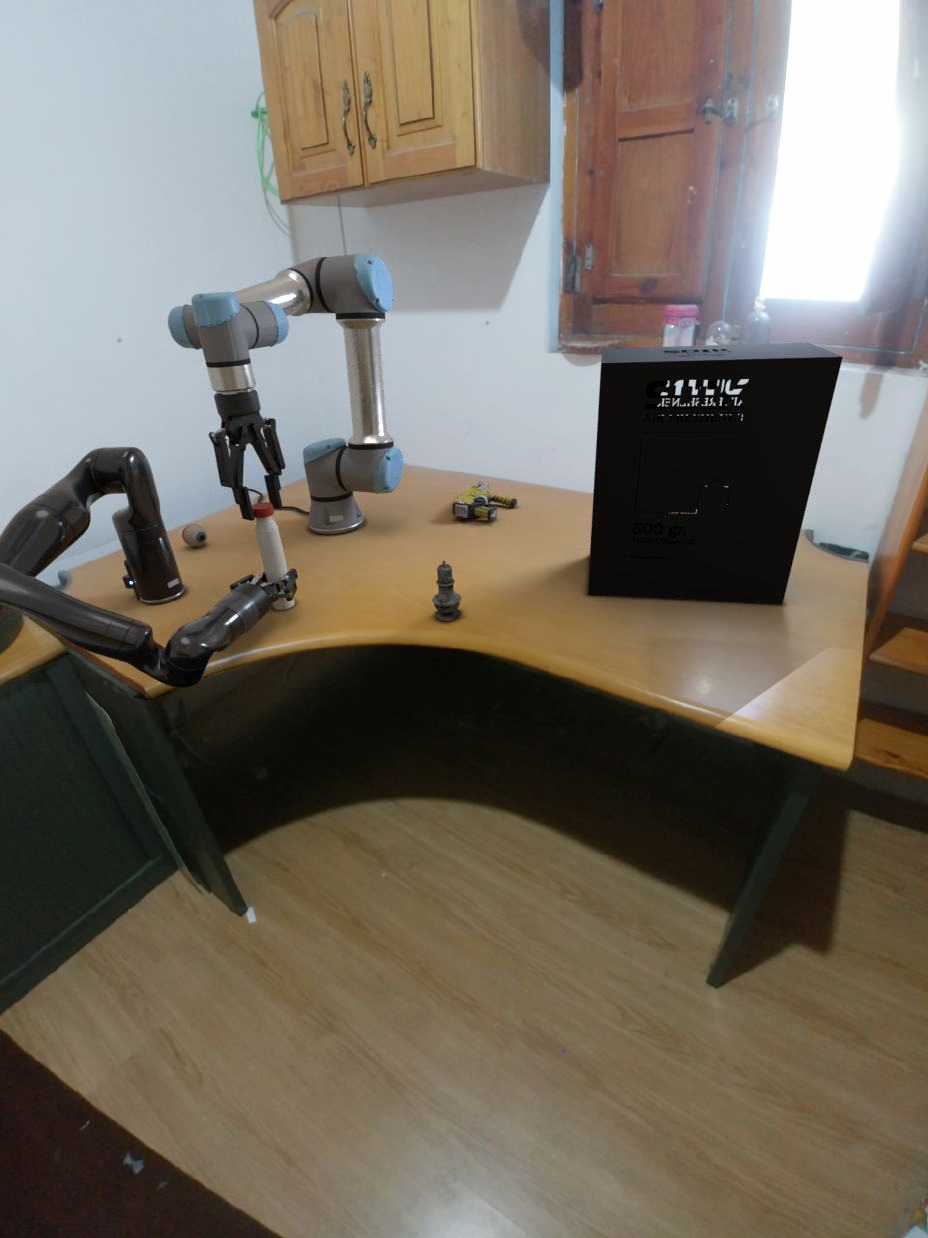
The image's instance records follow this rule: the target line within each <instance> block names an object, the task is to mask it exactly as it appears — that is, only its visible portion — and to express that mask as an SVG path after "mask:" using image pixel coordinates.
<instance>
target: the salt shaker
mask: <svg viewBox="0 0 928 1238" xmlns="http://www.w3.org/2000/svg"><path fill="white" fill-rule="evenodd" d="M436 573H437V574H436V575H437V579H436V582H435V583H436V585H437V587H438V588H437V589H438V590H437V591H438V593H437V594H435V595H434V596H433V597H432V598H431V601H432V604H433V605H434V606H433V607H434V608H435V609H436V611H435V613H434V617H435V618H436V620H439V621H443V622H449V621H451V622H452V621H455V620H458V618H460V617H461V615H462V612H461V610H460V609H459V607H460V604H461V601H462V596H461V595H460V594H459V593H458V592H455V589H454V584H455V579H454V578H453V567H452V565H450V564H449V563H447V562H446V560H443V561H442V562H441V564H439V565H438V566H437V568H436Z"/></svg>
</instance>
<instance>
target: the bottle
mask: <svg viewBox="0 0 928 1238" xmlns="http://www.w3.org/2000/svg"><path fill="white" fill-rule="evenodd" d="M272 516H273V515H271V516H269V517H265V518H255V525H254V532H255V535H256V540H257V544H258V548H259V552H260V557H261V560H262V566H263V569H264V571H265V574H266V578H267V582H269V581H271V580H273V579H275V578H278V579H279V578H281V577H283V576H284V575H285V574H286V573H287V572H288V571H289V570H288V566H287V562H286V557H285V554H284V548H283V544H282V540H281V534H280V530H279V526H278V524H277V522H276V520H275V519H274V518H273V517H272ZM282 586H284V582H283V583H282ZM295 604H296V603H295V598H293V600H292V601H286V598H279V599H278V600H277V601H275V602H273V603H272V607H273V609H275V610H277V611H285V610H289V609H291V608H292V607H294V606H295Z"/></svg>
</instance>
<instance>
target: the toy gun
mask: <svg viewBox="0 0 928 1238" xmlns="http://www.w3.org/2000/svg"><path fill="white" fill-rule="evenodd" d="M489 485H490V484H489V482H487V481H484V482H483V481H482V480H480V481H478V483H476V484H475V485H474V486H473V485H472V486H471V487H470V488H469V489H468V490H466V491H465V492H464V493H463V494H462V495H460V497H458V498H457V499H456V500H454V502H453V503H452V504H451V515H452V516H453V517H456V518H457V519H460V520H463V519H471V518H476V517H481V518H484V519H487V522H488V523H490V522H492V521H494V520H496V519H497V515H498V514H497V513H498V506H495V505H494V506H492V507H491V506H490V505H489V504H490V503H492V502H493V503H495V504H496V503H498V504H501V505H505V506H509V507H512V508H515V507H516V506H517V505H518V499H517V498H516V497H509V496H504V495H499V494H497V493H496V494H494V495H491V493H490V492H489V490H487V489H488V488H489Z"/></svg>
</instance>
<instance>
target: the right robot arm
mask: <svg viewBox="0 0 928 1238" xmlns="http://www.w3.org/2000/svg"><path fill="white" fill-rule="evenodd" d="M394 291H395V290H394V285H393V281H392V276H391V274H390V271H389V269H388V268H387V266H386V264H385V263H384V261H383V260H382V259H381V258H380V257H379V256H377V255H376V254H371V253H369V254H368V253H355V254H345V255H334V256H333V255H332V256H319V257H315V258H314V257H313V258H311V259H308V260H305V261H302V262H301V263H297V264H296V265H292V266H290V267H287V268H285V269H281V270H280V271H278V272H277V273H276V275H275V276H274V278H272V279H269V280H266V281H263V282H259V283H257V284H253V285H250V286H247V287H245V288H242V289H239V290H236V291H218V292H207V293H206V292H205V293H203V292H202V293H195V294H194V295H193V296H192V297H191V304H188V303H187V304H183V305H176V306H174V307H173V308H172V309H171V310H170V311H169V313H168V317H167V326H168V330H169V334H170V336H171V337H172V339H173V340H174V342H175V343H176V344H177V345H178V346H180V347H182V348H184V349H193V350H198V351H199V350H202V353H203V358H204V361H205V365H206V370H207V374H208V378H209V382H210V386H211V389H212V391H213V392H216V393H214V395H213V400H214V403H215V407H216V412H217V414H218V416H219V417H220V420H221V421H220V422H221V423H220V428H219V429H217V430H216V431H209V432H208V438H209V439H210V441H211V444H212V446H213V450H214V457H215V463H216V468H217V473H218V479H219V484H220V486H221V487H225V488H230V489H231V491H232V495H233V500H234V503H235V504H236V505H238V506H239V510H240V513H241V519H242V520H246V521H250V522H253V521H256V518H254V513H253V509H252V505H253V504H252V500H251V497H250V493H249V492H252V493H255V494H257V495H258V496H259V497H258V499H257V502H258V503H262V499H263V497H264V494H263V493H262V492H260V491H258V490H257V489H254V488H248V486H244V468H245V466H244V465H245V451H246V450H247V445H251V447H252V448H253V450H254V452H255V453H256V455H257V457H258V459H259V461H260V463H261V465H262V467H263V469H264V470H265V472H266V474H265V475H264V476H263V478H264V482H265V487H266V492H267V497H268V502H269V503H272V505H273V510H286V509H287V510H295V511H298V512H299V513H301V514H304V515H308V523H307V524H308V528H309V529H308V530H310V531H311V532H312V533H314V534H317V535H323V536H324V535H325V536H327V535H329V536H331V535H339V534H340V535H341V534H345V533H350V532H353V531H355V530H357V529H359V528H361V527H362V526H363V525H364V523H365V519H364V514H363V512H362V510H361V508H360V505H359V504H358V501H357V500H356V498H355V495H354V492H357V493H358V492H359V493H371V494H375V495H379V494H390V493H392V492H394V491H395V490H396V489H397V488H398V486H399V484H400V482H401V480H402V478H403V474H404V466H405V465H404V463H405V460H404V455H403V452H402V450H401V449H400V448H398V447H396V446H395V445H394V444H395V442H394V438H393V437H392V436H391V435H390V434H389V433H388V430H387V413H386V399H385V385H384V371H383V357H382V356H383V355H382V343H381V342H382V341H381V327H382V326H383V325H384V323H385V322H386V313H387V312H389V311H390V310H391V309H392V308H393V305H394V303H393V301H395V300H394V298H395V296H394V295H395V294H394ZM308 314H335V322H336V324H338V325H339V326H340V327H341V329H342V330H343V340H344V341H343V342H344V351H345V363H346V373H347V382H348V383H347V384H348V396H349V407H350V416H351V417H350V418H351V426H352V427H351V428H352V434H351V436H349V438H348V440H347V441H346V439H345V438H342V437H334V438H328V439H323V440H320V441H319V440H318V441H316V442H313V443H309V444H308V445H306V446H305V447H304V448H303V450H302V457H303V458H302V460H303V467H304V471H305V477H306V481H307V486H308V492H309V498H310V507H309V511H307V510H303V509H301V508H300V507H298V506H291V505H283V501H282V497H281V493H280V491H281V490H282V485H281V480H280V476H282V475H283V470H286V467H287V466H286V462H285V458H284V455H283V452H282V447H281V445H280V441H279V437H278V433H277V420H276V419H275V418H274V417H263V416H262V414H261V413H260V412H261V409H262V407H261V403H260V398H259V393H258V391H257V390H256V389H255V387H256V385H257V383H256V377H255V373H254V369H253V365H252V361H251V356H250V350H256V349H260V348H261V349H262V348H267V347H270V348H272V347H274V346H277V345H279V344H281V343H283V342H284V341H285V340H286V338H287V336H288V335H289V329H290V327H289V326H290V325H289V320H288V316H291V317H301V316H304V315H308ZM227 441H228V442H227Z"/></svg>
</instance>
